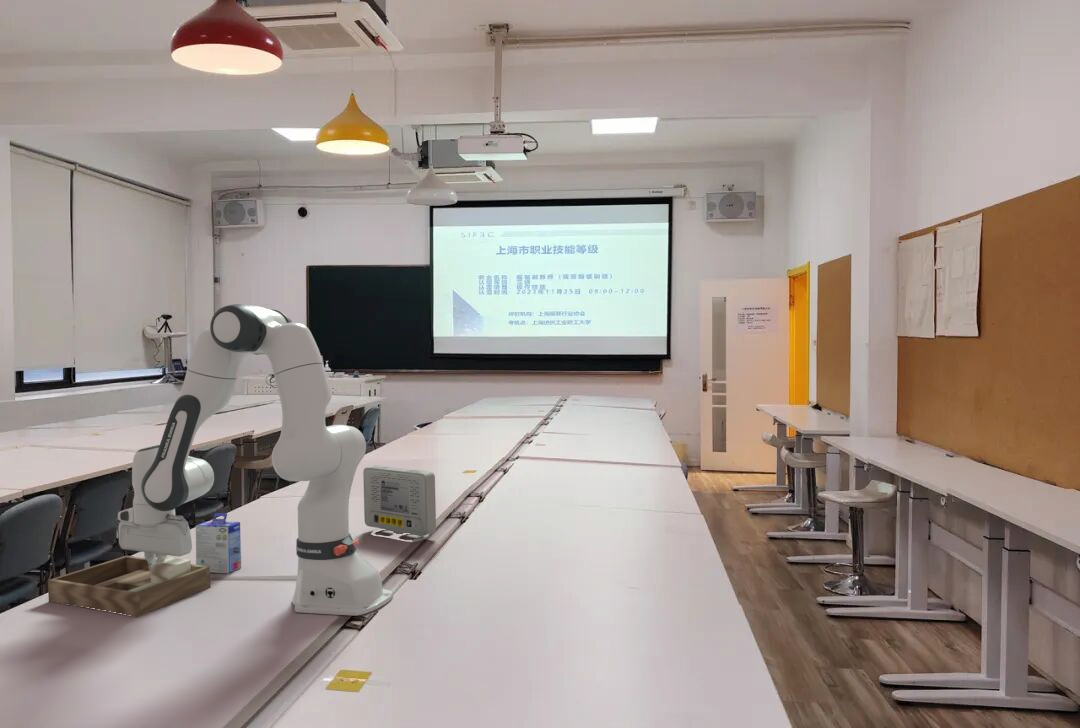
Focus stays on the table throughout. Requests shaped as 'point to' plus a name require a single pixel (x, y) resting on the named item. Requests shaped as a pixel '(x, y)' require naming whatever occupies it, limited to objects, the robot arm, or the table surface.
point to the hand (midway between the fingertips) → (156, 570)
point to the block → (169, 569)
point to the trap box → (125, 586)
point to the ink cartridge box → (219, 545)
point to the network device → (400, 500)
